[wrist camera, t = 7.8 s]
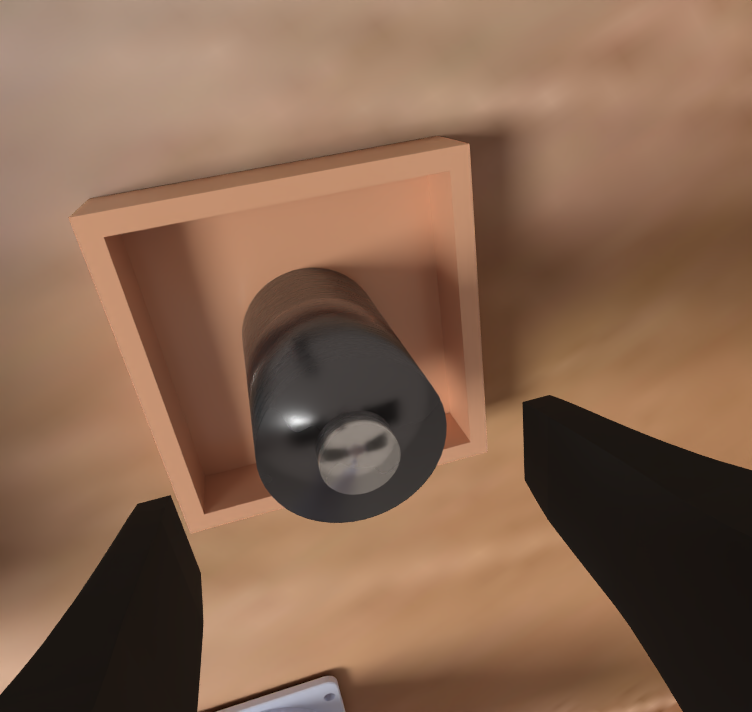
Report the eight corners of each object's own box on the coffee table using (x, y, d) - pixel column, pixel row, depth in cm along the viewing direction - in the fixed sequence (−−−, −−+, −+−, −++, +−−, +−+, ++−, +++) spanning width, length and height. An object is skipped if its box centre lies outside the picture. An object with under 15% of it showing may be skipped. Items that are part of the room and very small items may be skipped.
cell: (389, 369, 20) (468, 500, 14) (266, 409, 19) (292, 565, 13) (360, 250, 18) (438, 342, 12) (221, 291, 17) (226, 411, 11)
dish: (461, 415, 22) (487, 451, 20) (193, 485, 21) (190, 533, 18) (437, 135, 17) (469, 143, 15) (88, 199, 16) (68, 217, 14)
